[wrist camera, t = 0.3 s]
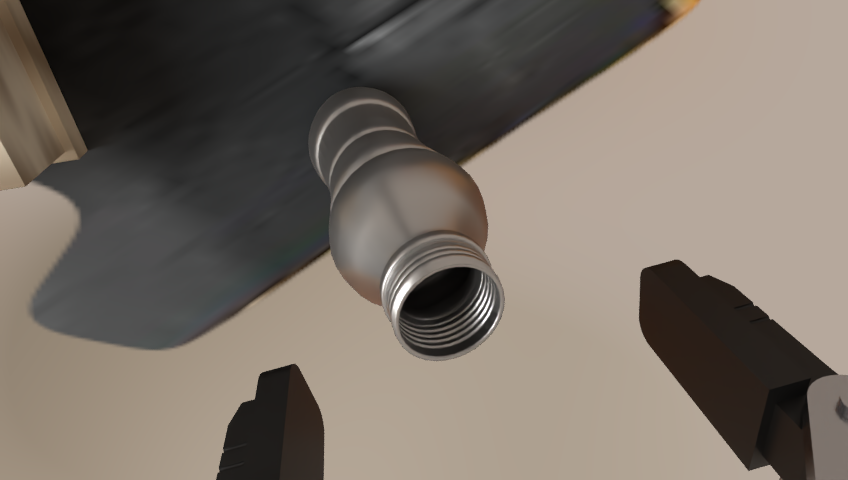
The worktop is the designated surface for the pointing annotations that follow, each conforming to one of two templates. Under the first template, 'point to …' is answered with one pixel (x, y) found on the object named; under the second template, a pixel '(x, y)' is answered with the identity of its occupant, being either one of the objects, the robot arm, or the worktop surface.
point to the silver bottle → (405, 225)
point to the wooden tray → (30, 105)
